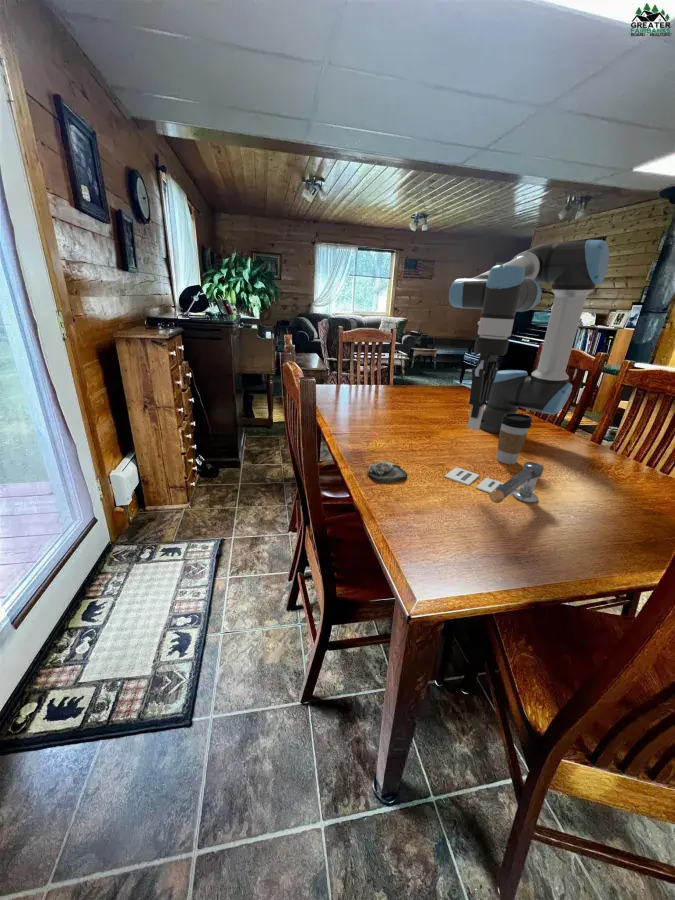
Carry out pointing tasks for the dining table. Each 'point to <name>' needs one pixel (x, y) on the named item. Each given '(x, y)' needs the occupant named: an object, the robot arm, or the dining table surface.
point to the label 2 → (489, 485)
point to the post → (526, 491)
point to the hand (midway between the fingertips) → (473, 428)
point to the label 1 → (462, 476)
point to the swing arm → (516, 481)
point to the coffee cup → (512, 436)
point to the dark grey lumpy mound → (386, 472)
